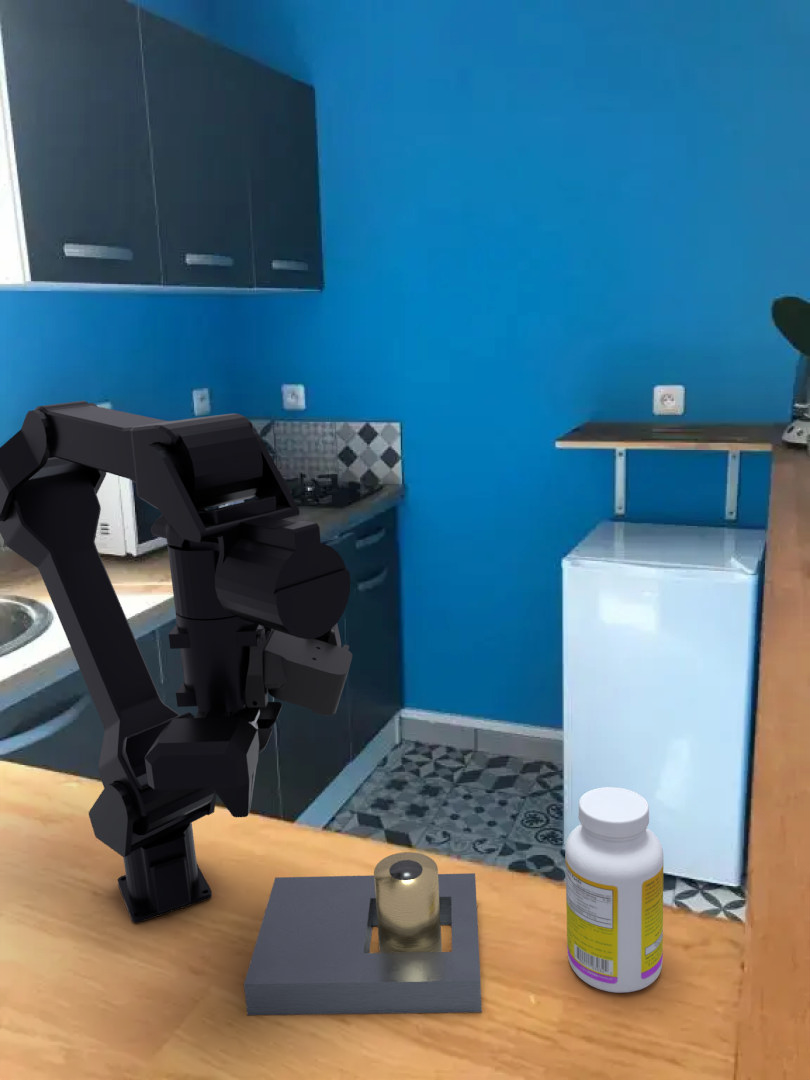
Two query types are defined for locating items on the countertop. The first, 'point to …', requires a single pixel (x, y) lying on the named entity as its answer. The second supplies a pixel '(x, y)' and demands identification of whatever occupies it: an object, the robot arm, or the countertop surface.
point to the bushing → (408, 904)
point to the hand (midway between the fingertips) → (241, 814)
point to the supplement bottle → (614, 892)
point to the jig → (358, 953)
